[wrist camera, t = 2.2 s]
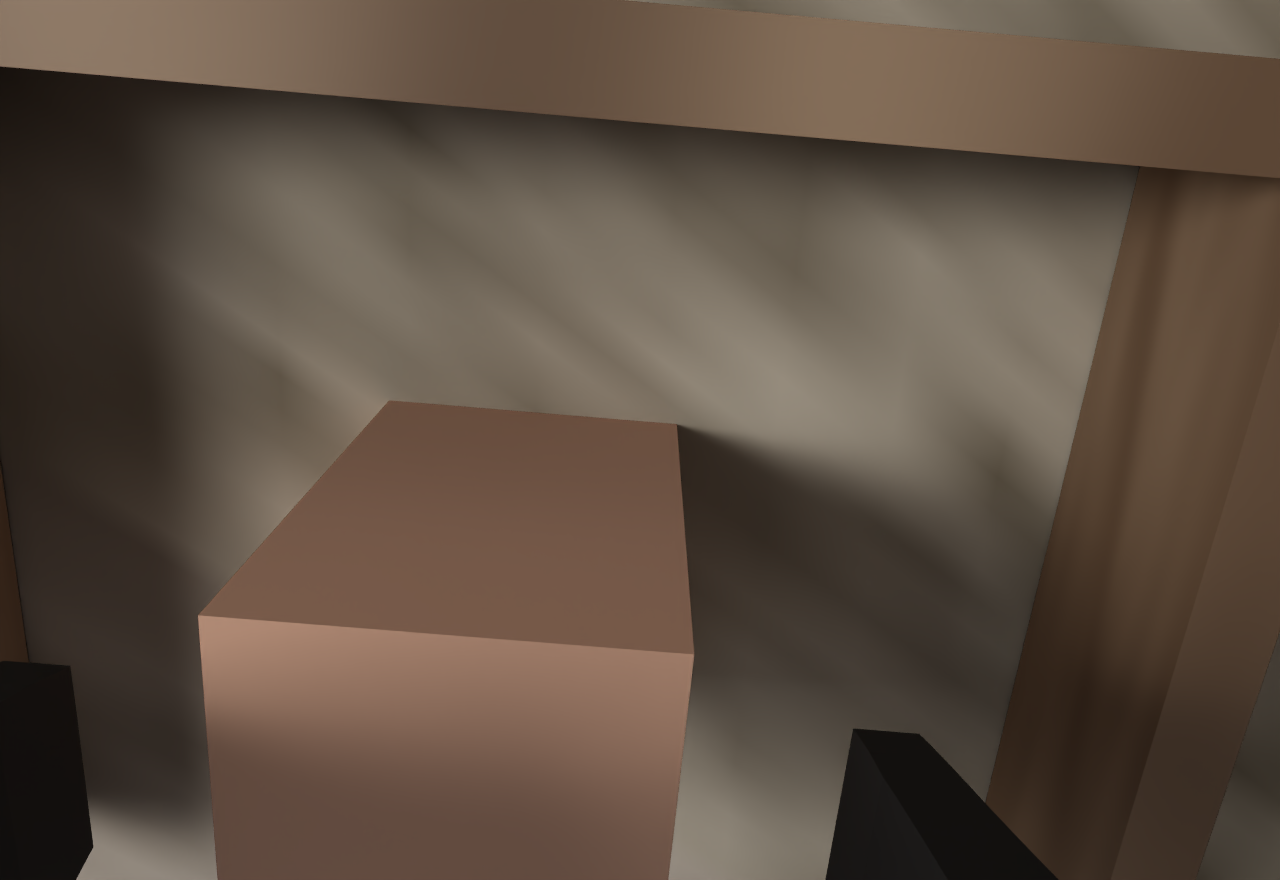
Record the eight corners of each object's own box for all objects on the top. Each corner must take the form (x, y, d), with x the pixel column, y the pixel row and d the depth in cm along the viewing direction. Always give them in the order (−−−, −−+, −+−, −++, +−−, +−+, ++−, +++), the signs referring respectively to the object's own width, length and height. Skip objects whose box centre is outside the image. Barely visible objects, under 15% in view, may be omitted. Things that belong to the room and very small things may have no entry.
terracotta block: (390, 651, 15) (225, 991, 9) (389, 400, 13) (197, 615, 8) (651, 672, 15) (651, 1023, 9) (676, 424, 14) (694, 653, 8)
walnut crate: (-17, 784, 16) (-196, 967, 12) (-154, -41, 12) (-474, -98, 8) (1032, 863, 16) (1132, 1063, 13) (1243, 84, 12) (1468, 76, 9)
